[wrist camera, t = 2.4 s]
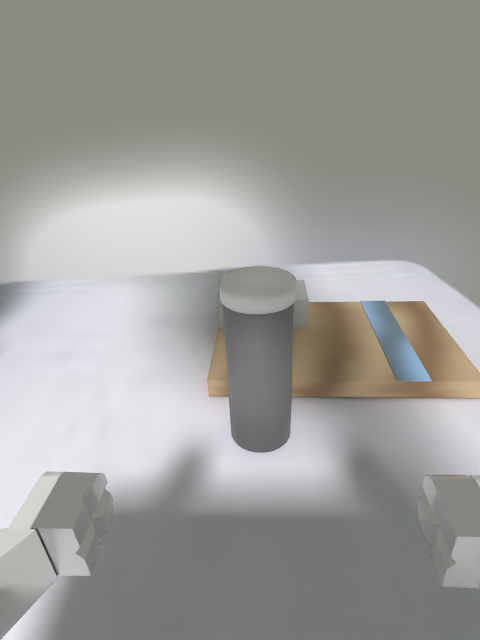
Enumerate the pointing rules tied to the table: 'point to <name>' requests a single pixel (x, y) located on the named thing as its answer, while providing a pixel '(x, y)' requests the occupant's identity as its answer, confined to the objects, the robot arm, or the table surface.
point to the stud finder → (299, 307)
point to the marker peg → (259, 354)
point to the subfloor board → (369, 354)
